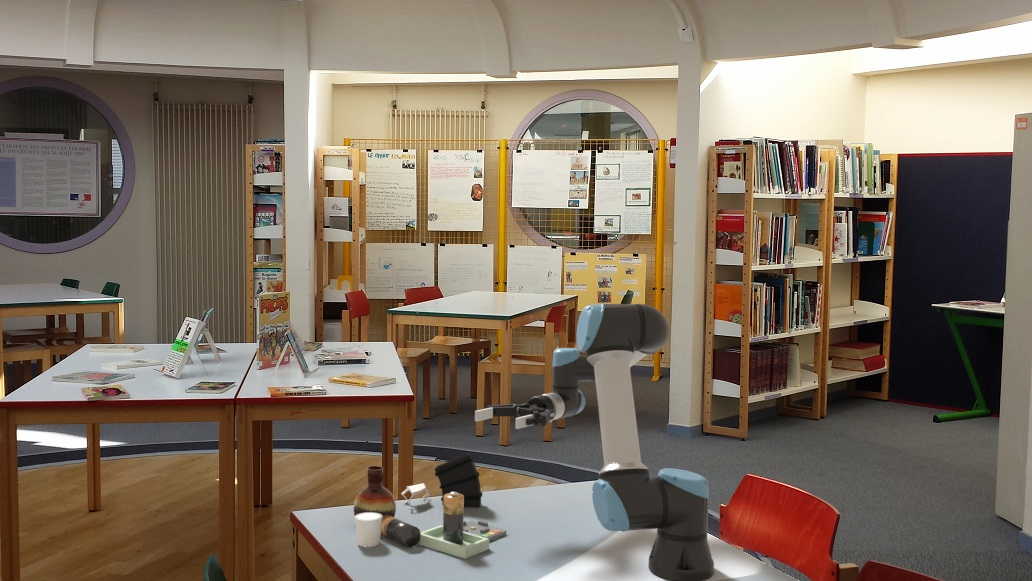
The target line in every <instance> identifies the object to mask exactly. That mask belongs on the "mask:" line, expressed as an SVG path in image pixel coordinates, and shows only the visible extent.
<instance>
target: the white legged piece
mask: <svg viewBox="0 0 1032 581" xmlns="http://www.w3.org/2000/svg"><path fill="white" fill-rule="evenodd" d="M424 491H425V492H426V494H425V495H424V496H422V499H423V500H424V499H425V500H424V501H423V502H424V505H426V504H427V502H426V501H427V499H428V498H429V496H430V492H429V490H428V489H427V486H426V484H425V482H422V483H419V484H418V483H417V484H414V485H406V488H405V490H403V491H402V492H401V493H400V494H401V496H403V498H404V499H406V501H404V504H406V503H407V504H408V505H409V506H410V507H409V508H408V510H411V509H412V508H413V505H412V504H411V501H412V499H413V497H414V496H415V495H417V494H421V493H423V492H424ZM408 492H410V494H411V496H410V498H409V499H408V498H407V497H406V495H405V494H406V493H408Z"/></svg>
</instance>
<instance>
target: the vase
mask: <svg viewBox="0 0 1032 581" xmlns="http://www.w3.org/2000/svg"><path fill="white" fill-rule="evenodd" d="M366 469H367V486H366V487H365V488H363V489H362V490H361V491H360V492H358V494H357V495H356V497H355V500H354V503H353V515H354V517H355V516H356V515H357V514H360V513H365V512H375V513H379V514H381V515H382V517H383V516H385V515H389V516H392V517H394V518H395V516H396V512H397V506H396V505H397V503H396V499H395V497H394V495H393V493H392V492H391V491H390V490H389V489H388V488H386V487H384V486H383V475H384V474H383V473H384V467H383V466H380V465H370V466H368V467H367V468H366Z"/></svg>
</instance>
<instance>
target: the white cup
mask: <svg viewBox="0 0 1032 581" xmlns="http://www.w3.org/2000/svg"><path fill="white" fill-rule="evenodd" d="M354 522H355V535H356V544H358V545H357V546H359V545H361V546H374V547H377V546H379V545H380V544H381V536H382V534H381V526H382V515H381V514H379V513H375V512H365V513H360V514H357V515H356V516H355V515H354ZM379 543H380V544H379ZM378 544H379V545H378ZM376 545H377V546H376ZM361 546H360V547H361Z"/></svg>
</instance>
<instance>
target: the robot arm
mask: <svg viewBox="0 0 1032 581" xmlns="http://www.w3.org/2000/svg"><path fill="white" fill-rule="evenodd" d="M670 332H671V328H670V323H669V321H668V320H667V318H666V316H665V315H664V313H662V312H661V311H660V310H659V309H657V308H656V307H654V306H653V305H652V306H651V305H648V304H643V303H634V304H633V303H631V304H630V303H604V302H603V303H599V304H598V303H596V304H588V305H586V306H585V307H583V309H582V310H581V312H580V314H579V318H578V322H577V326H576V334H575V336H576V337H575V338H576V346H577V348H574V347H559V348H556V349H554V351H553V353H552V354H553V355H552V364H551V365H552V388H551V392H549V393H543V394H540V395H535V396H532V397H531V398H530V399H529V400H528V401H527V403H522V404H518V403H517V402H513V403H506V404H491V405H488V404H487V405H485V406H484V408H483V409H478V410H474V422H480V421H486V420H491V419H493V418H494V417H497V418H499V417H514V418H515V430H520V429H524V428H527V427H531V426H538V425H540V426H543V427H545V426H547V425H548V424H549V423H552V422H553V421H554V420H560V419H564V418H566V417H567V418H568V417H573V416H575V415H578V414H580V413H581V412H582V411H583V410H584V408H585V406H586V398H585V396H584V393H583V391H581V390H580V388H579V386H580V385H579V384H580V382H595V388H596V390H595V391H596V398H597V399H596V400H597V408H598V418H599V427H600V434H601V436H600V437H601V445H602V454H603V463H604V464H603V467H602V468H601V470H600V471H599V472H598V477H599V478H598V479H597V480H595V481H594V483H593V485H592V489H591V490H592V494H591V496H592V504H593V509H594V512H595V514H596V517H597V520H598V522H599V523H600V525H601V526H602V527H603V528H604V529H606V530H607V531H609V532H628V531H643V530H644V531H645V530H656V537H655V539H654V543H653V544H652V545H653V546H652V548H651V551H650V553H649V556H648V570H649V571H650V572H651V573H652V574H653V575H655V576H657V577H660V578H663V579H667V580H670V581H704V580H707V579H709V578H711V577H712V576H714V573H715V572H714V571H715V562H714V559H713V558H712V553H711V548H710V545H709V540H708V526H709V525H708V524H709V500H710V492H709V490H710V489H709V482H708V480H707V479H706V478H705V477H704V476H703V475H701V474H699V473H696V472H692V471H691V470H685V469H679V468H669V467H668V468H667V467H666V468H661V469H660V470H659V471H658V473H657V477H651V476H650V470H649V467H648V466H646V465H645V464H644V463H642V460H641V459H642V457H641V450H640V442H639V434H638V433H639V432H638V424H637V416H636V415H637V414H636V408H635V400H634V393H633V392H634V391H633V383H632V374H631V367H633V366H634V365H635V364H637V363H638V362H640V361H641V360H642V359H643V358H644V357H646V356H648V355H653V354H656V353H658V352H659V351H661V350H662V348H664V347H665V346H666V345H667V343H668V341H669V338H670ZM580 353H583V354H580ZM585 353H586V354H585ZM517 413H518V414H517Z"/></svg>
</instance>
